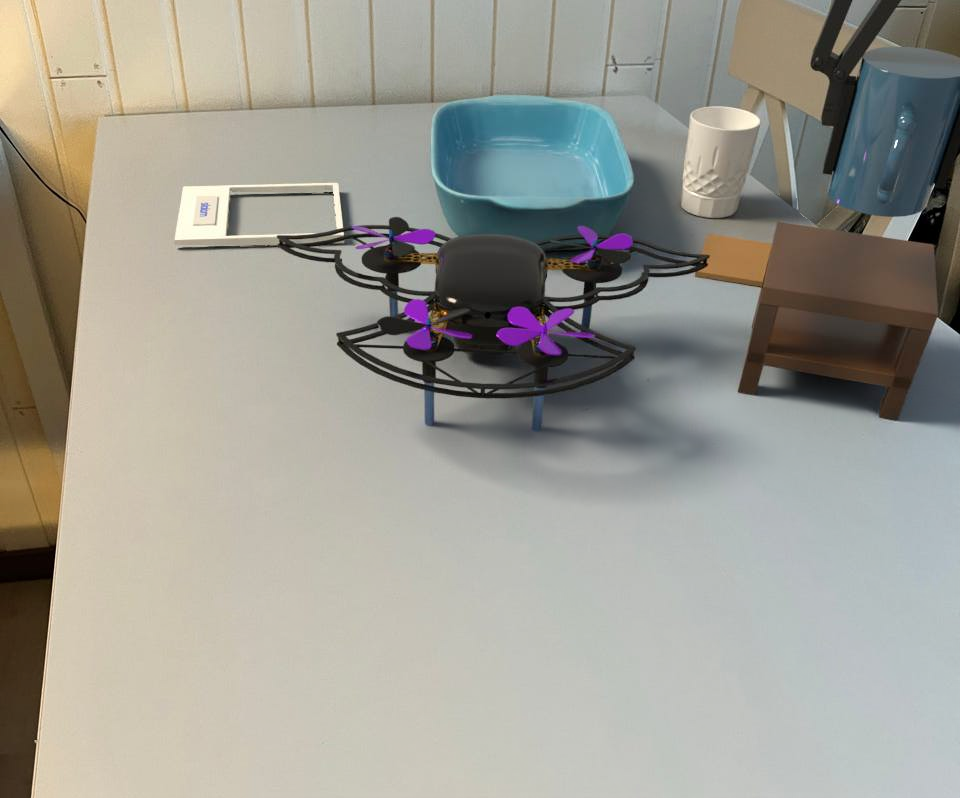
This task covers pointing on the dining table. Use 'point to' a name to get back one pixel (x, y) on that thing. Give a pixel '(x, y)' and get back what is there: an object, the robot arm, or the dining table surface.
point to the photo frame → (209, 213)
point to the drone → (489, 302)
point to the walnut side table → (844, 309)
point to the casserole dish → (529, 167)
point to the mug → (896, 131)
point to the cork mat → (735, 260)
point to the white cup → (717, 159)
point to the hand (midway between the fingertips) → (883, 174)
